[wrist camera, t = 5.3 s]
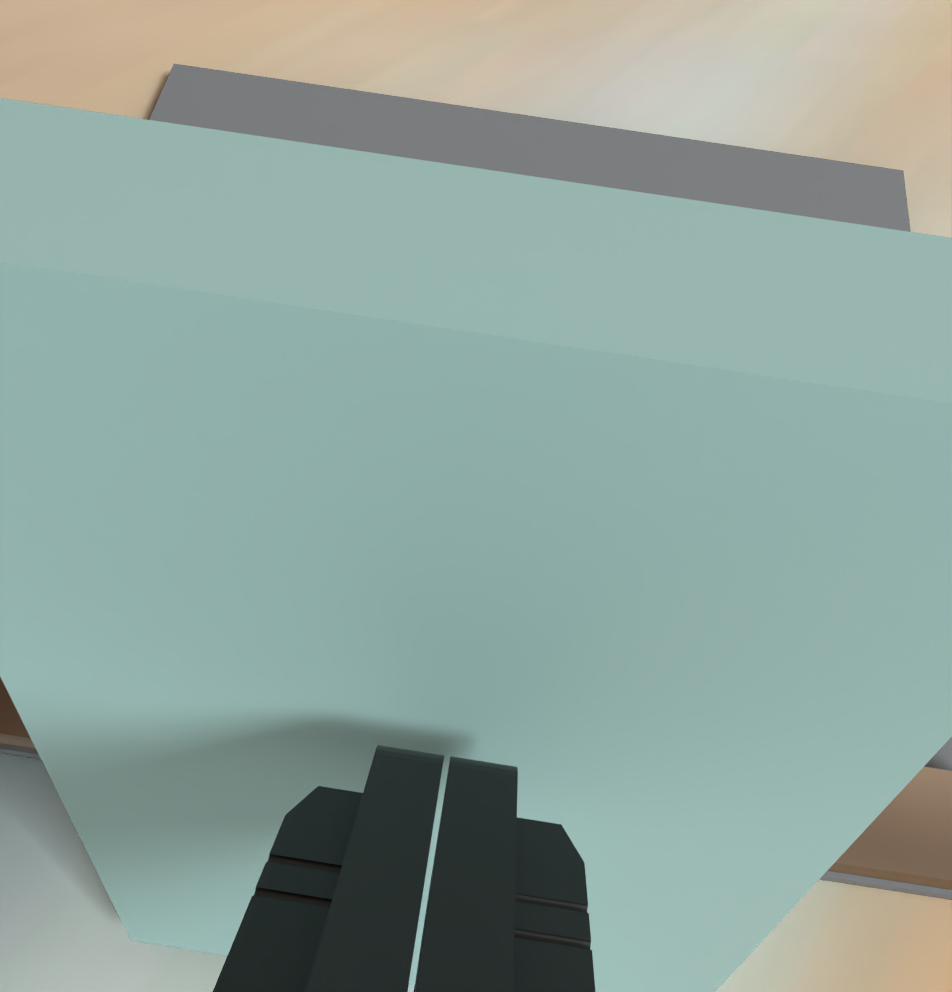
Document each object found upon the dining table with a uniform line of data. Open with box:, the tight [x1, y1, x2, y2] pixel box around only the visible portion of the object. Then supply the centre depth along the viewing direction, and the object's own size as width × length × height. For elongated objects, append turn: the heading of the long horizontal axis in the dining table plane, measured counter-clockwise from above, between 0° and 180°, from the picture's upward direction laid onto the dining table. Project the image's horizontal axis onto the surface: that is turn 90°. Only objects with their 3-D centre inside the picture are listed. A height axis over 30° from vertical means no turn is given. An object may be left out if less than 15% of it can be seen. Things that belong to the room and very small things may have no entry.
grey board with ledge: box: [0, 64, 952, 900], centre depth 22 cm, size 20×22×2 cm
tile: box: [0, 98, 952, 992], centre depth 12 cm, size 2×10×14 cm, turn 82°
